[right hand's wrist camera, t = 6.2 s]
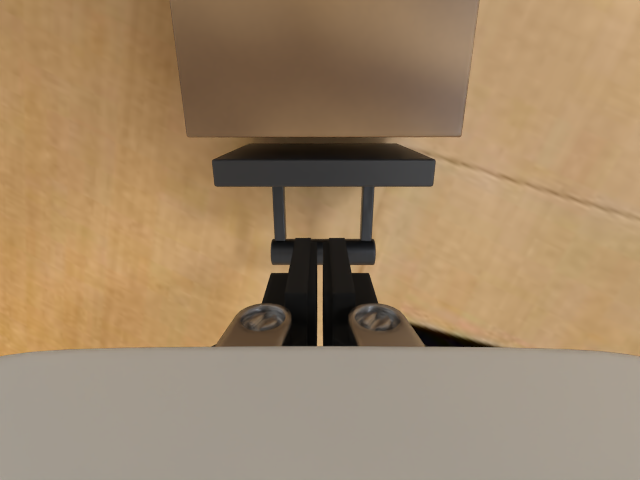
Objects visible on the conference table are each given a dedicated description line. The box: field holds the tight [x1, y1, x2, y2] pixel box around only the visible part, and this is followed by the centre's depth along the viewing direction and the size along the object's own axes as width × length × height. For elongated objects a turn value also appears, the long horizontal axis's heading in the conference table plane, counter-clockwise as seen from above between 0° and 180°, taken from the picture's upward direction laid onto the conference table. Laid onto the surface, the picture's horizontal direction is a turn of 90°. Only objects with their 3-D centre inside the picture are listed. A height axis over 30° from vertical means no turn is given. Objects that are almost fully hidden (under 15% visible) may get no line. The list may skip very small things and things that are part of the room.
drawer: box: [212, 144, 436, 265], centre depth 18 cm, size 19×10×8 cm, turn 0°
